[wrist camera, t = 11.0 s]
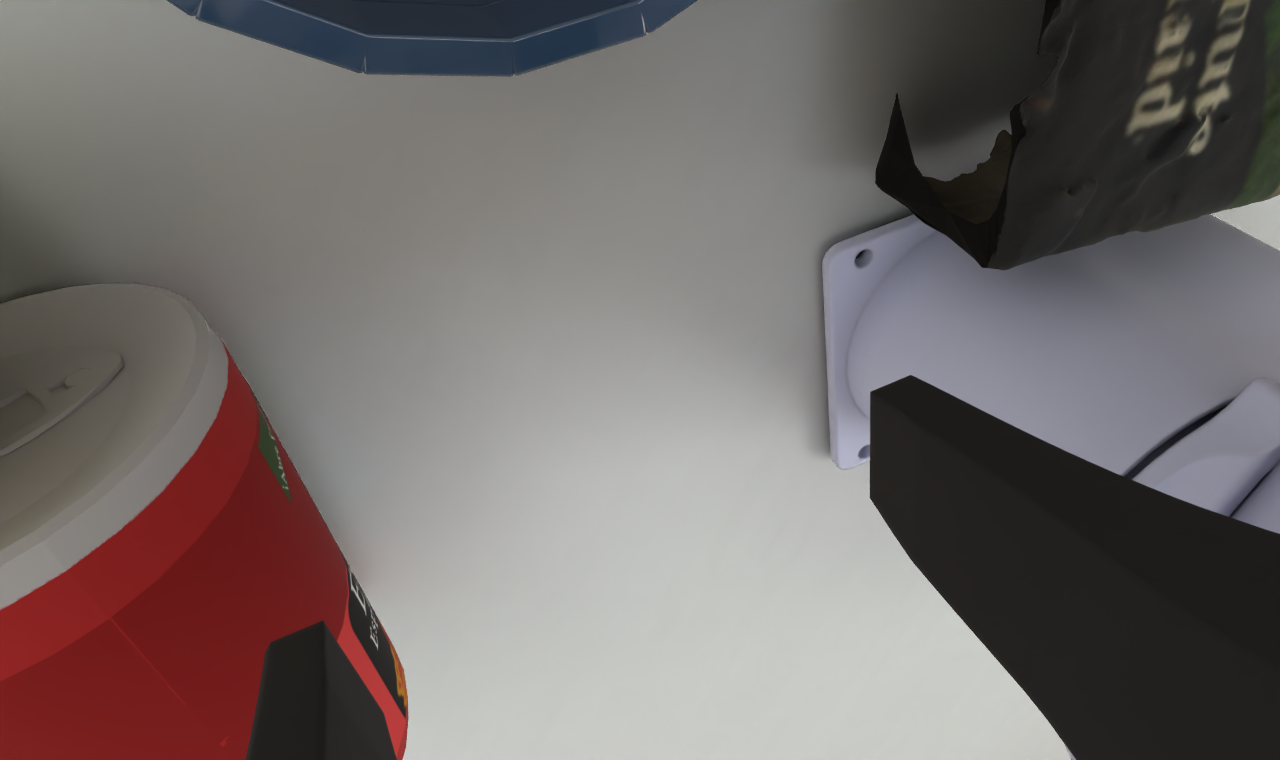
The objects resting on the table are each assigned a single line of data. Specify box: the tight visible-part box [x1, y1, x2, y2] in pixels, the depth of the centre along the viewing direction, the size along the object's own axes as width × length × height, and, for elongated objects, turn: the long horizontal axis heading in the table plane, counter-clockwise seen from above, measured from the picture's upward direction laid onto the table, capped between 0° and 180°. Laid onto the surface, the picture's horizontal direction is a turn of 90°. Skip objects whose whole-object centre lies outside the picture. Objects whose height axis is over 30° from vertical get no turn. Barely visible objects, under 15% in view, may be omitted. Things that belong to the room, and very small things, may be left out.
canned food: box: [0, 283, 408, 760], centre depth 18 cm, size 8×8×11 cm
